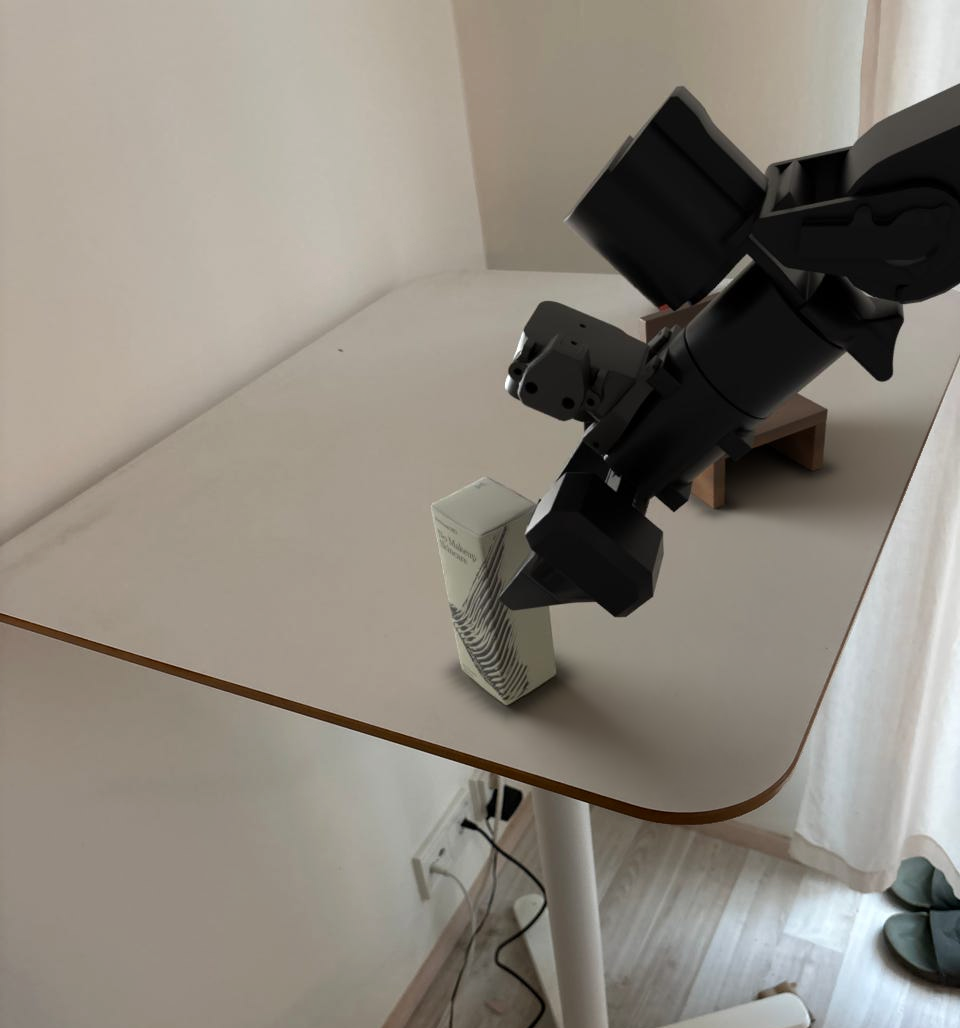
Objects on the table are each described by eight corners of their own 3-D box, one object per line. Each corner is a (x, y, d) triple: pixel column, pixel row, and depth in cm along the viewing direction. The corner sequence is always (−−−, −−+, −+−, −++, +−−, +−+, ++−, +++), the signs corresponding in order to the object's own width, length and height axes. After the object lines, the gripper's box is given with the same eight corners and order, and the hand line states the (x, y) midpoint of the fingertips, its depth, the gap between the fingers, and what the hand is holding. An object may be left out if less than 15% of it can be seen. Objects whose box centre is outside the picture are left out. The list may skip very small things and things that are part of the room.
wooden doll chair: (822, 467, 74) (835, 317, 67) (713, 509, 72) (714, 358, 65) (746, 421, 82) (750, 281, 74) (644, 457, 80) (638, 317, 72)
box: (459, 671, 62) (422, 502, 54) (512, 639, 64) (484, 471, 56) (509, 711, 58) (477, 536, 50) (563, 676, 60) (541, 501, 52)
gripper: (634, 188, 49) (465, 389, 59) (552, 336, 36) (351, 562, 46) (785, 332, 52) (598, 501, 62) (761, 522, 38) (527, 696, 48)
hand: (526, 554), depth 54 cm, fingers open, 9 cm apart
